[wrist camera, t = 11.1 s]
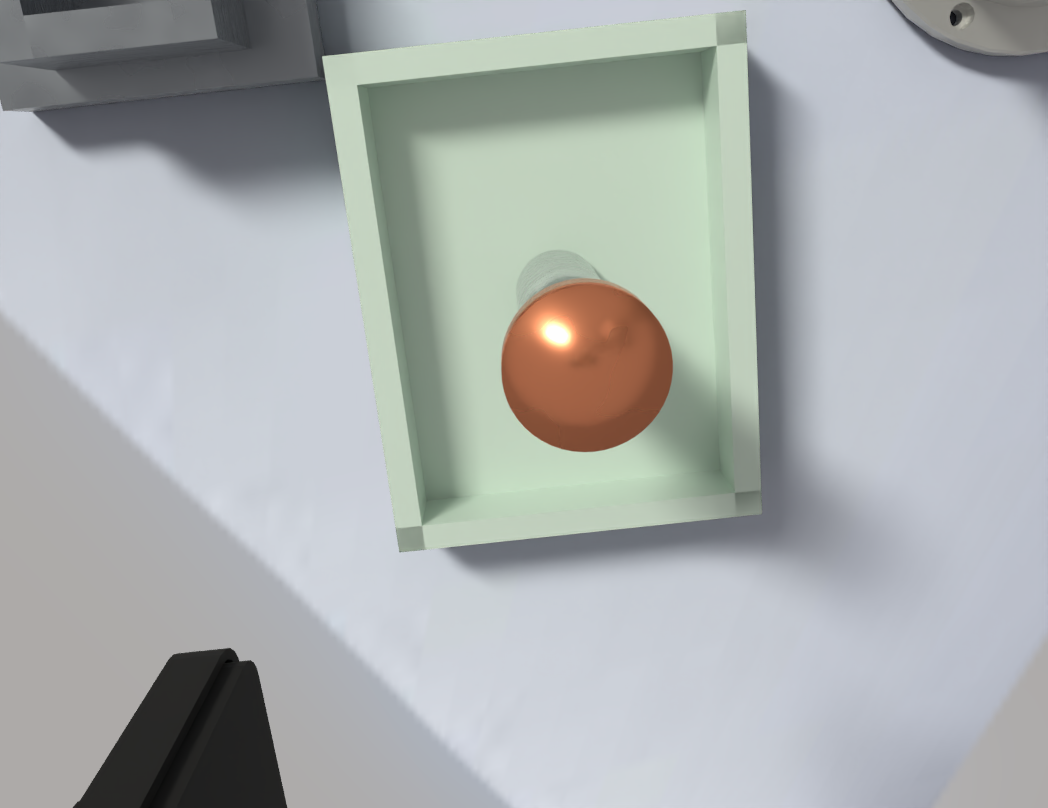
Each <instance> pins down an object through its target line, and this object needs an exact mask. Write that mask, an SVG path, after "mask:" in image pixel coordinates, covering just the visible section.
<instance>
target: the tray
mask: <svg viewBox="0 0 1048 808" xmlns="http://www.w3.org/2000/svg"><path fill="white" fill-rule="evenodd" d="M322 60H323V66H324V72H325V79H326V85H327V92H328V98H329V104H330V111H331V117H332V124H333V130H334V136H335V143H336V149H337V155H338V162H339V168H340V175H341V181H342V187H343V194H344V200H345V207H346V213H347V219H348V226H349V232H350V239H351V245H352V251H353V258H354V264H355V271H356V277H357V283H358V290H359V296H360V303H361V309H362V315H363V322H364V328H365V335H366V341H367V347H368V354H369V360H370V367H371V373H372V379H373V386H374V392H375V399H376V405H377V411H378V418H379V424H380V431H381V437H382V443H383V450H384V456H385V463H386V469H387V475H388V482H389V488H390V495H391V501H392V507H393V514H394V520H395V527H396V533H397V539H398V546H399V552H408V551H417V550H427V549H436V548H446V547H455V546H465V545H474V544H484V543H493V542H503V541H512V540H522V539H531V538H541V537H550V536H559V535H569V534H578V533H588V532H597V531H607V530H616V529H626V528H635V527H645V526H654V525H664V524H673V523H683V522H692V521H702V520H711V519H720V518H730V517H739V516H749V515H758V514H762V500H761V469H760V438H759V407H758V376H757V345H756V313H755V282H754V251H753V220H752V189H751V158H750V127H749V96H748V65H747V34H746V10H742V11H733V12H724V13H715V14H706V15H697V16H687V17H678V18H669V19H660V20H651V21H641V22H632V23H623V24H614V25H605V26H596V27H586V28H577V29H568V30H559V31H550V32H541V33H531V34H522V35H513V36H504V37H495V38H485V39H476V40H467V41H458V42H449V43H440V44H430V45H421V46H412V47H403V48H394V49H384V50H375V51H366V52H357V53H348V54H339V55H329V56H322ZM551 250H566V251H571V252H573V253H576V254H578V255H580V256H581V257H583V258H584V259H585V260H586V261H587V262H588V263H589V264H590V265H591V266H592V267H593V269H594V270H595V272H596V273H597V275H598V276H599V278H600V279H601V280H604V281H609V282H611V283H614V284H617V285H619V286H621V287H623V288H625V289H627V290H629V291H630V292H631V293H633V294H634V295H636V296H637V297H638V298H639V299H640V300H641V301H642V302H643V303H644V304H645V305H646V306H647V307H648V308H649V310H650V311H651V312H652V313H653V314H654V316H655V317H656V318H657V319H658V321H659V322H660V324H661V326H662V327H663V329H664V331H665V333H666V335H667V338H668V340H669V344H670V347H671V351H672V359H673V375H672V382H671V386H670V390H669V393H668V396H667V398H666V401H665V403H664V405H663V407H662V408H661V410H660V412H659V413H658V415H657V416H656V417H655V419H654V420H653V421H652V422H651V423H650V424H649V425H648V426H647V427H646V428H645V429H644V430H643V431H642V432H641V433H639V434H638V435H637V436H636V437H634V438H632V439H631V440H629V441H627V442H625V443H623V444H621V445H619V446H616V447H613V448H610V449H607V450H602V451H596V452H574V451H568V450H563V449H560V448H557V447H554V446H551V445H549V444H547V443H545V442H543V441H541V440H540V439H538V438H537V437H535V436H534V435H533V434H531V433H530V432H529V431H528V430H527V429H526V428H525V427H524V426H523V425H522V424H521V423H520V422H519V421H518V419H517V418H516V416H515V415H514V413H513V412H512V410H511V408H510V406H509V404H508V402H507V399H506V396H505V393H504V389H503V384H502V374H501V355H502V346H503V342H504V337H505V335H506V332H507V329H508V327H509V325H510V323H511V321H512V319H513V318H514V316H515V315H516V313H517V312H518V306H517V297H516V288H517V282H518V279H519V276H520V274H521V272H522V270H523V269H524V267H525V266H526V265H527V263H528V262H529V261H531V260H532V259H533V258H534V257H536V256H537V255H539V254H541V253H544V252H547V251H551Z"/></svg>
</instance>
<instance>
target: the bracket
mask: <svg viewBox="0 0 1048 808" xmlns="http://www.w3.org/2000/svg"><path fill="white" fill-rule="evenodd" d="M322 56H325V55H324V48H323V42H322V35H321V29H320V22H319V16H318V9H317V3H316V0H0V100H1V104H2V108H3V111H24V112H34V111H43V110H52V109H61V108H71V107H80V106H89V105H98V104H107V103H116V102H126V101H135V100H144V99H153V98H162V97H172V96H181V95H190V94H199V93H208V92H218V91H227V90H236V89H245V88H254V87H264V86H273V85H282V84H291V83H300V82H310V81H319V80H326V79H325V72H324V66H323V60H322Z"/></svg>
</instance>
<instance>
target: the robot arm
mask: <svg viewBox="0 0 1048 808" xmlns="http://www.w3.org/2000/svg"><path fill="white" fill-rule="evenodd" d="M892 2H893V3H894V4H895V5H896V6H897V7H898V8H899V10H900V11H901V12H902V13H903V14H904V15H905V17H906V18H908V19H909V20H910V21H912V22H913V23H914V24H916V25H917V26H918V27H920V28H921V29H922V30H924V31H925V32H926V33H928V34H929V35H930V36H932V37H934V38H936V39H938V40H940V41H943V42H945V43H947V44H949V45H952V46H954V47H956V48H958V49H961V50H965V51H970V52H975V53H980V54H985V55H990V56H1025V55H1031V54H1036V53H1043V52H1048V0H892ZM951 12H954V13H955V14H956V18H957V19H956V22H955V24H954V25H953V26H952V25H951V22H950V14H951ZM73 808H287V805H286V800H285V796H284V791H283V786H282V782H281V777H280V772H279V768H278V763H277V759H276V754H275V749H274V744H273V740H272V735H271V730H270V726H269V722H268V717H267V712H266V707H265V703H264V698H263V693H262V689H261V684H260V679H259V675H258V671H257V668H256V666H255V664H254V662H252V661H251V660H250V661H240V662H239V659H238V657H237V655H236V653H235V651H234V650H232V649H231V648H227V649H217V650H207V651H197V652H189V653H179V654H174V655H173V656H172V657H171V658H170V659H169V660H168V662H167V663H166V665H165V666H164V668H163V670H162V671H161V673H160V674H159V676H158V677H157V679H156V681H155V682H154V684H153V685H152V687H151V689H150V690H149V692H148V693H147V695H146V697H145V698H144V700H143V701H142V703H141V704H140V706H139V708H138V709H137V711H136V712H135V714H134V716H133V717H132V719H131V721H130V722H129V724H128V725H127V727H126V729H125V730H124V732H123V733H122V735H121V736H120V738H119V740H118V741H117V743H116V744H115V746H114V748H113V749H112V751H111V752H110V754H109V756H108V757H107V759H106V760H105V762H104V764H103V765H102V767H101V768H100V770H99V771H98V773H97V775H96V776H95V778H94V779H93V781H92V783H91V784H90V786H89V787H88V789H87V791H86V792H85V794H84V795H83V797H82V799H81V800H80V801H79V802H77V803H76V804H75V806H74V807H73Z"/></svg>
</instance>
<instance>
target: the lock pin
mask: <svg viewBox="0 0 1048 808" xmlns="http://www.w3.org/2000/svg"><path fill="white" fill-rule="evenodd" d="M516 297H517V306H518V312H517V313H516V315H515V316H514V318H513V319H512V321H511V323H510V325H509V327H508V329H507V332H506V335H505V337H504V342H503V346H502V355H501V374H502V384H503V389H504V393H505V396H506V399H507V402H508V404H509V406H510V408H511V410H512V412H513V413H514V415H515V416H516V418H517V419H518V421H519V422H520V423H521V424H522V425H523V426H524V427H525V428H526V429H527V430H528V431H529V432H530V433H531V434H533V435H534V436H535V437H537V438H538V439H540V440H541V441H543V442H545V443H547V444H549V445H551V446H554V447H557V448H560V449H563V450H568V451H574V452H596V451H602V450H607V449H610V448H613V447H616V446H619V445H621V444H623V443H625V442H627V441H629V440H631V439H632V438H634V437H636V436H637V435H638V434H639V433H641V432H642V431H643V430H644V429H645V428H646V427H647V426H648V425H649V424H650V423H651V422H652V421H653V420H654V419H655V417H656V416H657V415H658V413H659V412H660V410H661V408H662V407H663V405H664V403H665V401H666V398H667V396H668V393H669V390H670V386H671V382H672V375H673V359H672V351H671V347H670V344H669V340H668V338H667V335H666V333H665V331H664V329H663V327H662V326H661V324H660V322H659V321H658V319H657V318H656V317H655V316H654V314H653V313H652V312H651V311H650V310H649V308H648V307H647V306H646V305H645V304H644V303H643V302H642V301H641V300H640V299H639V298H638V297H637V296H636V295H634V294H633V293H631V292H630V291H629V290H627V289H625V288H623V287H621V286H619V285H617V284H614V283H611V282H609V281H604V280H601V279H600V278H599V276H598V275H597V273H596V272H595V270H594V269H593V267H592V266H591V265H590V264H589V263H588V262H587V261H586V260H585V259H584V258H583V257H581V256H580V255H578V254H576V253H573V252H571V251H566V250H551V251H547V252H544V253H541V254H539V255H537V256H536V257H534V258H533V259H532V260H531V261H529V262H528V263H527V265H526V266H525V267H524V269H523V270H522V272H521V274H520V276H519V279H518V282H517V288H516Z"/></svg>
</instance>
